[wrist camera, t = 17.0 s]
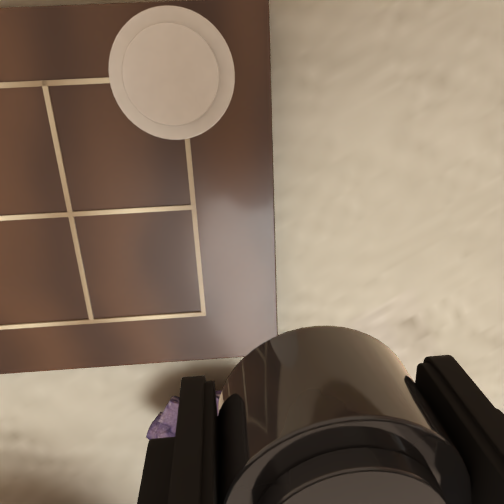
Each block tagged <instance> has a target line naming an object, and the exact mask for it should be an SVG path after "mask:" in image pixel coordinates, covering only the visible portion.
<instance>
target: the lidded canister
mask: <svg viewBox="0 0 504 504" xmlns="http://www.w3.org/2000/svg"><path fill="white" fill-rule="evenodd" d="M471 495H472V482H471V477H470V474H469V470H468V467H467V465H466V463H465V461H464V459H463V457H462V456H461V454H460V453H459V451H458V450H457V448H456V446H455V445H454V443H453V442H452V440H451V439H450V437H449V436H448V434H447V432H446V431H445V429H444V428H443V426H442V425H441V423H440V422H439V420H438V418H437V417H436V415H435V414H434V412H433V411H432V409H431V407H430V406H429V404H428V403H427V401H426V400H425V398H424V397H423V395H422V393H421V392H420V390H419V389H418V387H417V386H416V384H415V382H414V381H413V379H412V378H411V376H410V375H409V373H408V372H407V370H406V368H405V367H404V365H403V364H402V362H401V361H400V360H399V358H398V357H397V356H396V354H395V353H394V352H393V351H392V350H391V349H390V348H389V347H387V346H386V345H385V344H383V343H382V342H381V341H379V340H378V339H376V338H374V337H372V336H370V335H368V334H365V333H363V332H360V331H357V330H354V329H349V328H345V327H337V326H312V327H305V328H300V329H296V330H292V331H288V332H285V333H283V334H280V335H278V336H275V337H273V338H271V339H269V340H267V341H265V342H264V343H262V344H261V345H259V346H258V347H256V348H255V349H253V350H252V351H251V352H250V353H249V354H247V355H246V356H245V357H244V358H243V359H242V360H241V361H240V362H239V363H238V364H237V366H236V367H235V368H234V369H233V371H232V372H231V374H230V375H229V377H228V378H227V380H226V382H225V384H224V386H223V389H222V392H221V395H220V398H219V403H218V504H470V501H471Z"/></svg>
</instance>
